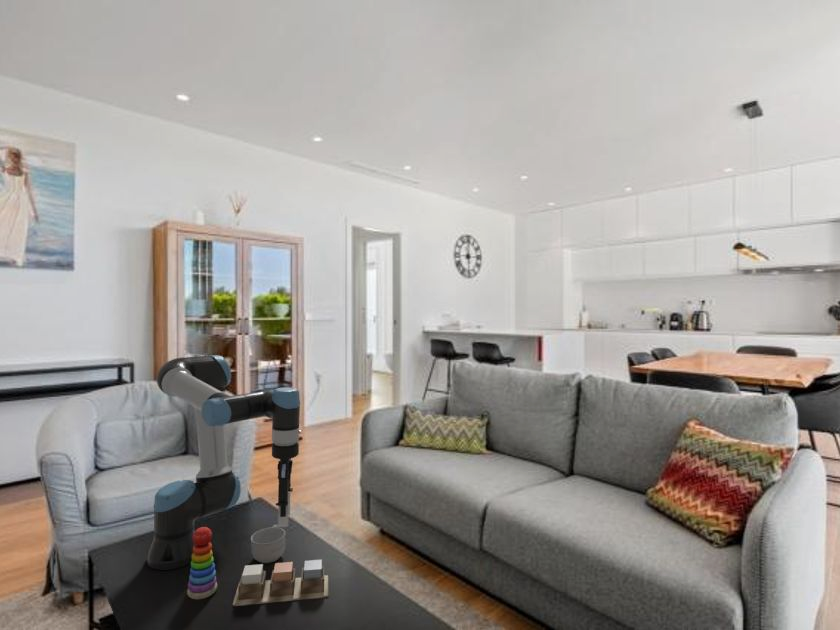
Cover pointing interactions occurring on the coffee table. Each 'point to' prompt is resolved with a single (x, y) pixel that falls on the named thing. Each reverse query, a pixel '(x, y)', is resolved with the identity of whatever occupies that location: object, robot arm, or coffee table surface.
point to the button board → (281, 590)
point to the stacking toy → (202, 566)
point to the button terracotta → (283, 572)
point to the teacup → (268, 544)
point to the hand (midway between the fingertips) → (284, 520)
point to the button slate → (313, 569)
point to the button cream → (252, 574)
